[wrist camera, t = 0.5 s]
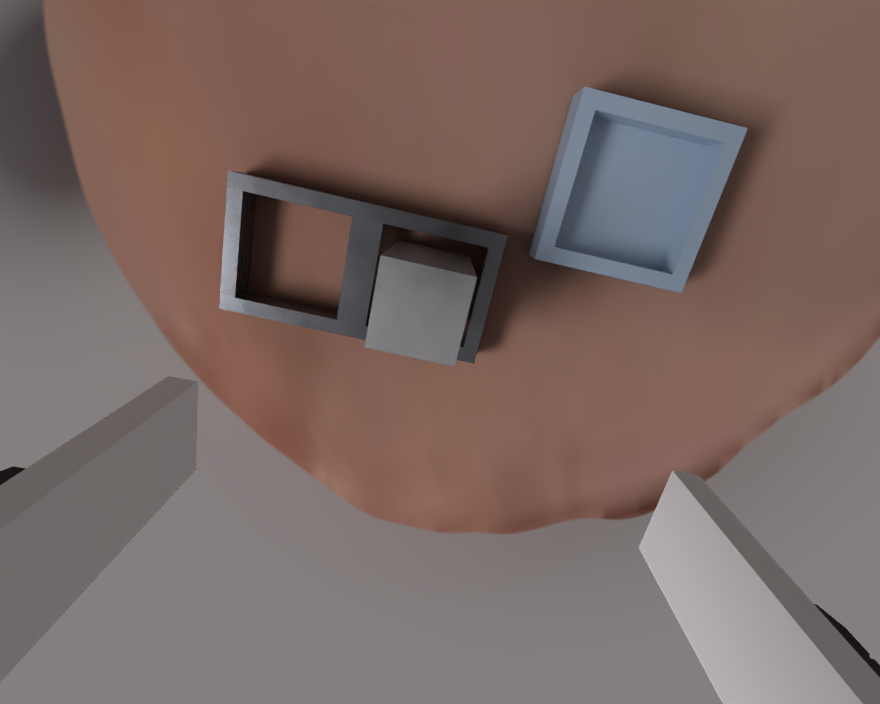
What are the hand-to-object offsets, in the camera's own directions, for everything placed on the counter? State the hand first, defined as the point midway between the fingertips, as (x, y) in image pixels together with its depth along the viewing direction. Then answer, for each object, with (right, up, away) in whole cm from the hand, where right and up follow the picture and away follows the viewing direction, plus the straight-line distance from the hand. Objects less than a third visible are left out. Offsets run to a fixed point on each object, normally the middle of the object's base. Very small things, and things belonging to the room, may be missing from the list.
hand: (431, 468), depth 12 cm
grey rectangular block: (-1, +8, +20) cm, 21 cm away
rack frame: (-5, +9, +19) cm, 22 cm away
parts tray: (+12, +14, +17) cm, 25 cm away
